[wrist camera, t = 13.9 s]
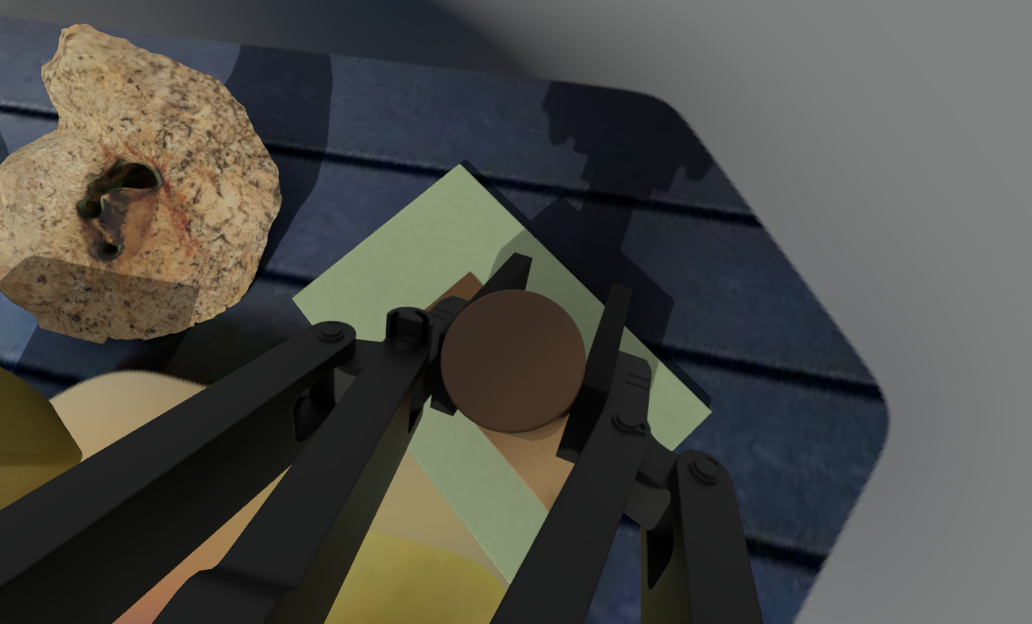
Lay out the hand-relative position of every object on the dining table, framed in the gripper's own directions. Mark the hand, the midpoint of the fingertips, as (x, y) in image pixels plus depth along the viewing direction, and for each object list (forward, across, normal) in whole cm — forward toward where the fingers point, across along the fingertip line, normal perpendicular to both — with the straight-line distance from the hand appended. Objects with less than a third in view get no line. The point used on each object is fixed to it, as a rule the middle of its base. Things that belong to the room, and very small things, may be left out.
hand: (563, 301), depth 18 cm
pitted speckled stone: (+7, -27, -8) cm, 28 cm away
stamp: (+2, 0, -7) cm, 8 cm away
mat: (+6, -4, -8) cm, 11 cm away
